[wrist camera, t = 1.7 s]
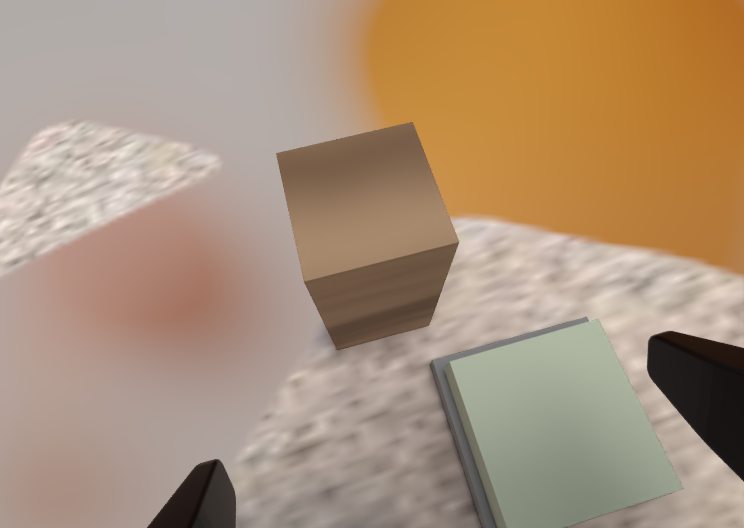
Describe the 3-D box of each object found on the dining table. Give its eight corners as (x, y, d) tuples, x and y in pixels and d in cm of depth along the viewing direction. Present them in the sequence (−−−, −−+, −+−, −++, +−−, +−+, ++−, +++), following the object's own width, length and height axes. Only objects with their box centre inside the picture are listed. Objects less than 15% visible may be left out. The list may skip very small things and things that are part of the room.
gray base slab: (646, 489, 20) (672, 492, 18) (484, 540, 19) (494, 549, 18) (571, 327, 23) (586, 317, 21) (429, 367, 23) (432, 360, 21)
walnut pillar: (429, 325, 23) (458, 242, 14) (336, 350, 22) (304, 281, 13) (402, 243, 25) (412, 121, 16) (317, 265, 24) (276, 153, 15)
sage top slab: (653, 484, 18) (683, 488, 17) (499, 534, 18) (512, 544, 16) (579, 329, 21) (598, 318, 19) (443, 369, 21) (449, 361, 19)
